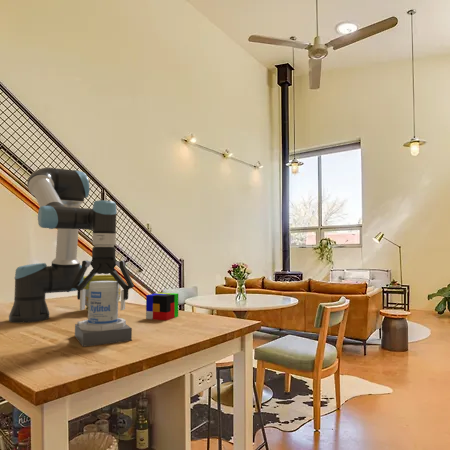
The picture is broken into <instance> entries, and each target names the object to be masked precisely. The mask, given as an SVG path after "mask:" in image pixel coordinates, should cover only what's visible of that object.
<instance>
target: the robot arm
mask: <svg viewBox="0 0 450 450" xmlns="http://www.w3.org/2000/svg"><path fill="white" fill-rule="evenodd" d="M26 185H27V190H28V192H29V193H30V194H31V195H32V196H34V197H35V200H36V202H37V203H38V206H39V208H38V211H37V212H38V213H37V221H38V222H37V223H38V226H39V227H40V228H42V229H49V230H53V229H56V230H57V233H56V247H55V248H56V251H55V258H54V259H53V260H52V261H51V265H47V263H46V262H40V263H31V264H24V265H21V266H18V267H16V269H15V275H14V299H13V300H14V301H13V304H12V307H11V310H10V313H9V314H8V322H10V323H13V324H21V323H22V324H23V323H36V322H37V323H38V322H41V321H45V320H46V321H47V320H49V319H50V311H49V310H50V309H49V307H48V305H47V302H46V294H54V293H55V294H56V293H71V292H76V291H77V295H76V296H77V300H78V301H79V311H83V310H86V305H85V291H86V289H84V287H85V286H86V285H87V283H88V282H89V281H90V280H91V279H92V278H93V276H94V275H112V276H113V277H114V278H115V280H116V281H117V282H118V283H119V285H120V288H121V295H120V311H125V309H126V301H127V300H128V299H129V290H130V289H132V288H133V289H134V287H135V284H134V282H133V280H132V277H131V276H130V274H129V272H128V270H127V268H126V261H125V260H120V261H119V260H118V261H117V260H116V249H117V248H116V243H117V235H116V233H117V214H118V213H117V212H118V211H117V203H116V202H115V201H114V200H113V201H112V200H100V199H99V200H95V201H93V206H92V208H85V207H81V205H82V204H83V203H84V202H85V199H87V198H88V197H89V195H90V181H89V178H88V176H87V174H86V173H85V172H84V171H80V170H76V169H66V168H65V169H64V168H55V167H42V168H39V169H37V170H35V171H33V172H31V174H30V175H29V177H28V179H27V182H26ZM79 230H87V231H92V246H93V247H92V248H91V257H92V258H91V261H89V260H87V259H85V260H82V262H80V260H79V259H78V258H77V257H78V244H79V243H78V242H79ZM90 266H91V267H92V269H91V271H90V272H89V274H87V275H86V276H87V277H86V278H85V279H84V280H83V278H84V276H85V274H86V271H87V270H88V268H89V267H90ZM116 266H117V268H119V270H120V271H121V274H122V276H123V277H122V276H121V275H120V274H119V273H118V271H117V270H116V268H115V267H116ZM120 276H121V277H120ZM123 278H124V280H123Z"/></svg>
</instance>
